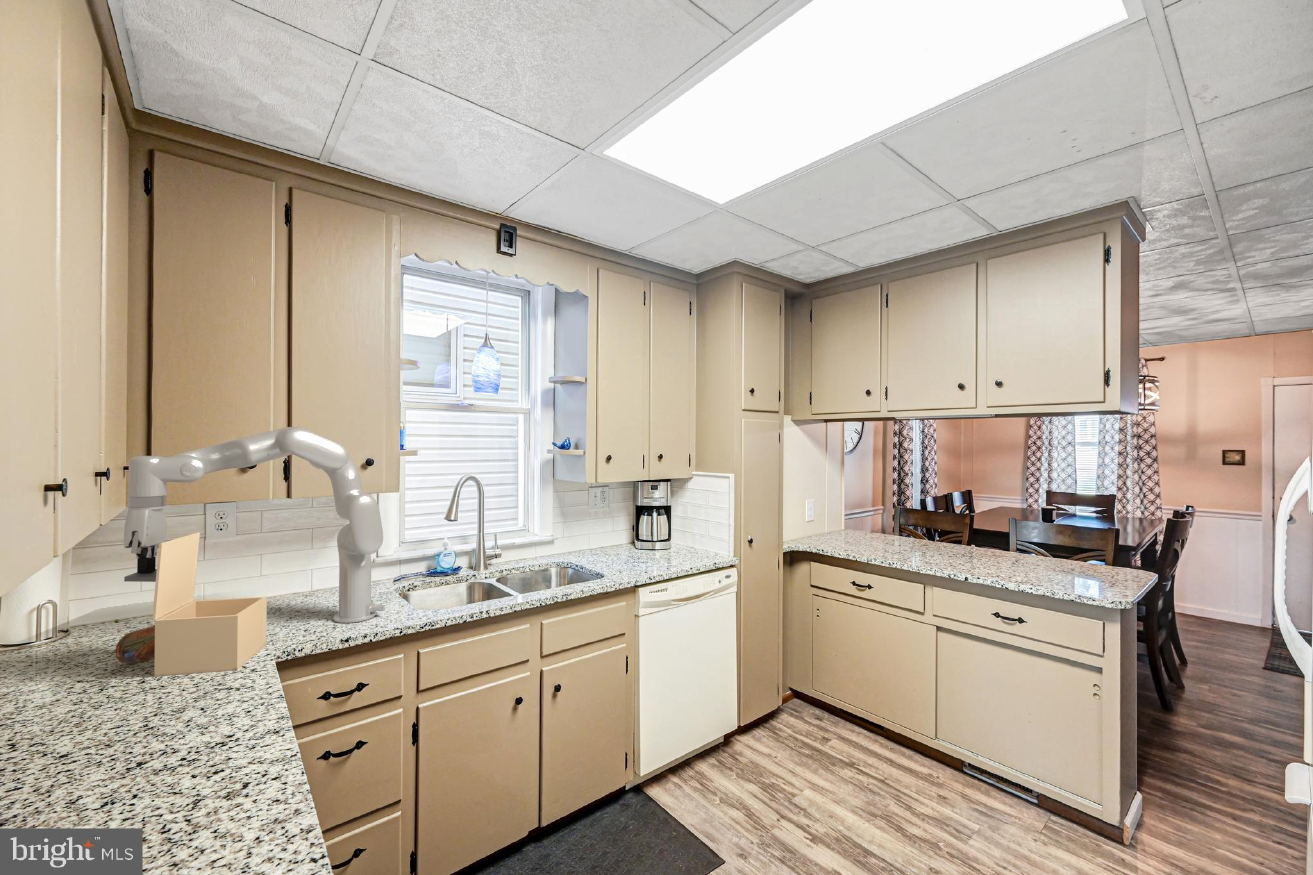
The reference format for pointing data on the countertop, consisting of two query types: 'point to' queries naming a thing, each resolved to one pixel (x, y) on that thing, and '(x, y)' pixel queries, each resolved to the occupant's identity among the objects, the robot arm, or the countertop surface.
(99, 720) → the countertop surface
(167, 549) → the lid
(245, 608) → the carton
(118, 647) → the tin
